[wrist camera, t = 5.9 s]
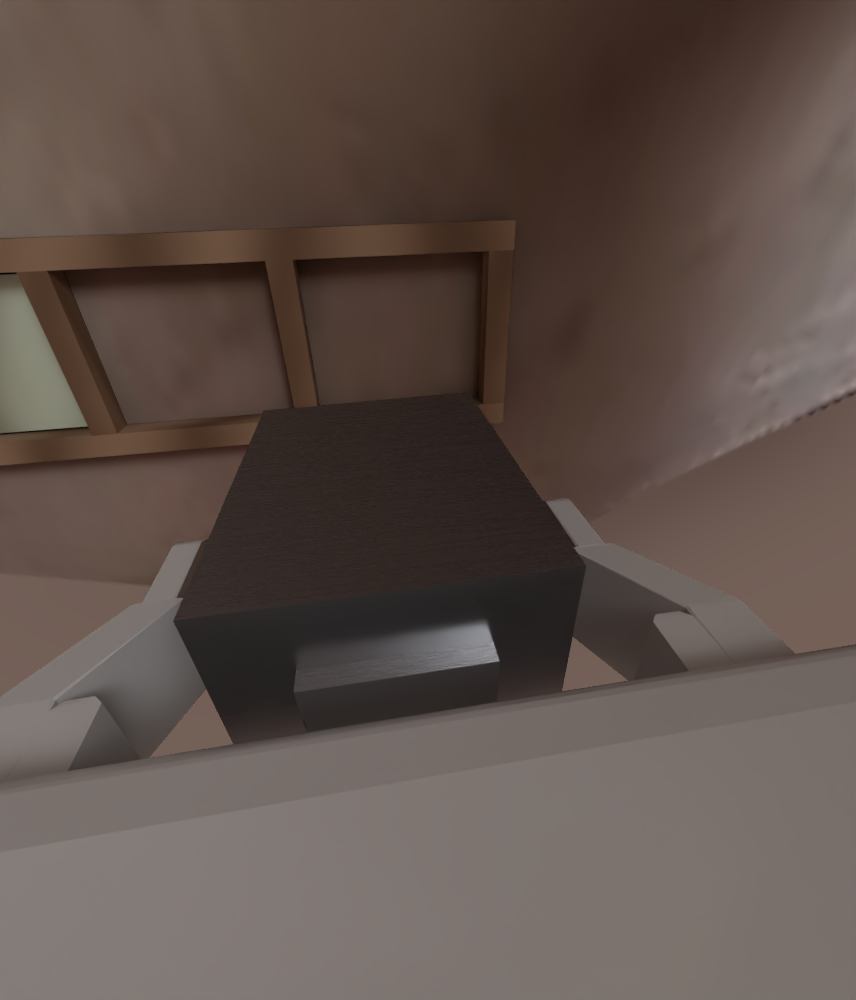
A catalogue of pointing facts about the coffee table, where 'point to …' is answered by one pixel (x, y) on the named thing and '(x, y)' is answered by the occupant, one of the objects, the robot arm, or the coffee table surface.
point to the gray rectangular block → (378, 572)
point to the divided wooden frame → (55, 314)
